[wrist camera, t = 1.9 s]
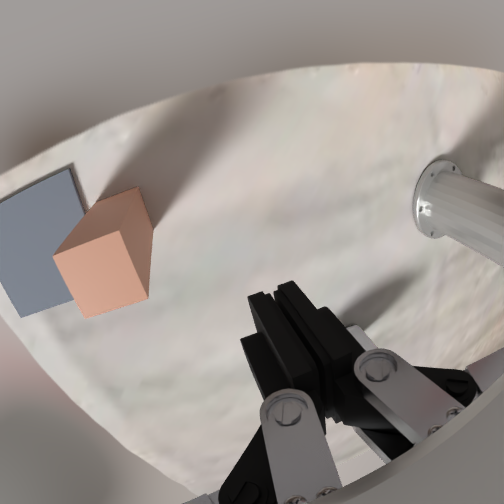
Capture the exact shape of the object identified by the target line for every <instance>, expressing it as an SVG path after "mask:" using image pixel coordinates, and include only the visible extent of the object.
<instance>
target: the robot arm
mask: <svg viewBox="0 0 504 504" xmlns="http://www.w3.org/2000/svg"><path fill="white" fill-rule="evenodd" d="M413 213H414V219H415V223H416V225H417V227H418V229H419V231H420V232H421V233H422V234H424V235H425V236H427V237H429V238H434V239H436V238H440V237H442V236H444V235H447V236H449V237H450V238H452V239H454V240H456V241H458V242H460V243H462V244H463V245H465V246H467V247H469V248H471V249H473V250H474V251H476V252H478V253H480V254H481V255H483V256H485V257H487V258H488V259H490V260H492V261H493V262H495V263H497V264H498V265H500V266H502V267H504V190H503V189H501V188H498V187H495V186H492V185H490V184H487V183H484V182H481V181H478V180H475V179H472V178H469V177H466V176H463V175H462V173H461V171H460V169H459V168H458V166H457V165H456V164H454V163H453V162H450V161H447V160H438V161H436V162H434V163H432V164H431V165H430V166H429V167H427V169H426V170H425V171H424V173H423V174H422V176H421V178H420V180H419V182H418V185H417V187H416V191H415V195H414V202H413ZM274 298H275V300H274V299H273V297H272V296H271V294H270V293H268V294H264V293H263V292H259V293H256V294H253V295H250V296H248V302H249V305H250V309H251V312H252V316H253V319H254V323H255V326H256V330H257V333H255V334H252V335H250V336H247V337H244V338H241V339H240V341H241V344H242V347H243V350H244V352H245V355H246V358H247V361H248V363H249V366H250V368H251V371H252V373H253V376H254V378H255V381H256V383H257V385H258V388H259V390H260V392H261V395H262V397H263V399H264V402H263V403H262V405H261V408H260V420H261V425H260V427H259V429H258V430H257V432H256V434H255V435H254V437H253V438H252V440H251V442H250V443H249V445H248V446H247V448H246V450H245V451H244V453H243V454H242V456H241V457H240V459H239V461H238V462H237V464H236V465H235V467H234V468H233V470H232V471H231V473H230V474H229V476H228V477H227V479H226V480H225V482H224V483H223V485H222V486H221V488H220V490H218V491H216V492H213V493H211V494H209V495H207V494H204V495H201V496H199V497H197V498H195V499H193V500H190V501H188V502H185V503H183V504H504V348H501V349H499V350H498V351H496V352H494V353H492V354H490V355H488V356H486V357H484V358H482V359H480V360H478V361H476V362H474V363H472V364H470V365H468V366H466V368H465V370H463V371H462V370H456V369H442V368H429V367H418V366H412V365H410V364H409V363H408V362H406V361H405V360H404V359H402V358H401V357H400V356H399V355H397V354H396V353H394V352H392V351H391V350H387V349H372V350H368V351H366V350H365V349H364V348H363V347H362V346H361V345H360V343H359V342H358V341H357V340H356V339H355V338H354V337H353V335H352V334H351V333H350V332H349V331H348V330H347V329H346V327H345V326H344V325H343V324H342V323H341V322H340V321H339V319H338V318H337V317H336V316H335V315H334V314H333V313H332V311H331V310H330V309H329V308H328V307H322V308H320V309H316V307H315V306H314V305H313V304H312V303H311V301H310V300H309V299H308V298H307V297H306V295H305V294H304V293H303V292H302V291H301V289H300V288H299V287H298V286H297V285H296V283H295V282H294V281H289V282H286V283H284V284H281V285H278V290H276V291H274ZM325 417H326V418H327V419H328V418H330V417H332V418H333V420H334V421H335V423H339V422H341V421H342V422H343V424H344V425H348V426H352V427H353V429H354V431H355V432H356V433H357V434H358V435H359V436H360V437H361V438H362V439H363V440H364V441H365V443H366V444H367V445H368V446H369V447H370V448H371V449H372V450H373V451H374V452H375V453H376V454H377V455H378V456H379V457H380V458H381V459H382V460H383V461H384V462H385V463H386V465H384V466H382V467H381V468H379V469H377V470H375V471H373V472H372V473H370V474H368V475H366V476H364V477H362V478H360V479H358V480H357V481H354V482H352V483H350V484H348V485H346V486H344V487H342V484H341V481H340V478H339V475H338V472H337V469H336V466H335V463H334V461H333V458H332V455H331V452H330V449H329V446H328V443H327V441H326V438H325V435H326V424H325Z"/></svg>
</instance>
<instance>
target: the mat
mask: <svg viewBox="0 0 504 504" xmlns="http://www.w3.org/2000/svg"><path fill="white" fill-rule="evenodd" d="M85 214H86V213H85V210H84V207H83V205H82V202H81V199H80V197H79V194H78V191H77V188H76V185H75V182H74V179H73V176H72V173H71V170H70V168H69V169H67V170H65V171H62V172H60V173H58V174H56V175H54V176H52V177H50V178H48V179H45V180H43V181H41V182H39V183H37V184H35V185H33V186H31V187H29V188H28V189H26V190H24V191H22V192H20V193H18V194H16V195H14V196H13V197H11V198H9V199H7V200H5V201H4V202H2V203H0V282H1V284H2V286H3V288H4V289H5V291H6V293H7V295H8V297H9V298H10V300H11V302H12V304H13V305H14V307H15V309H16V310H17V312H18V314H19V315H20V317H21V318H22V317H25V316H28V315H31V314H34V313H37V312H40V311H42V310H45V309H48V308H51V307H54V306H57V305H60V304H63V303H66V302H69V301H71V300H74V298H73V296H72V295H71V293H70V291H69V289H68V287H67V285H66V283H65V281H64V279H63V277H62V275H61V273H60V271H59V269H58V267H57V265H56V263H55V261H54V259H53V257H52V256H53V254H54V253H55V252H56V250H57V249H58V248H59V247H60V245H61V244H62V243H63V241H64V240H65V239H66V237H67V236H68V235H69V234H70V232H71V231H72V230H73V229H74V227H75V226H76V225H77V224H78V223H79V221H80V220H81V219H82V218H83V217H84V215H85Z"/></svg>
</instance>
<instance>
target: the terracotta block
mask: <svg viewBox="0 0 504 504" xmlns="http://www.w3.org/2000/svg"><path fill="white" fill-rule="evenodd" d="M152 240H153V227H152V224H151V221H150V219H149V216H148V213H147V210H146V207H145V204H144V201H143V198H142V195H141V192H140V189H139V186H138V187H135V188H133V189H130V190H127V191H124V192H122V193H119V194H116V195H114V196H111V197H108V198H106V199H103V200H101V201H98V202H96V203H95V204H94V205H93V206H92V207H91V208H90V210H89V211H88V212H87V213H86V214H85V215H84V217H83V218H82V219H81V220H80V221H79V223H78V224H77V225H76V226H75V227H74V229H73V230H72V231H71V232H70V234H69V235H68V236H67V237H66V239H65V240H64V241H63V243H62V244H61V245H60V247H59V248H58V249H57V250H56V252H55V253H54V254H53V256H52V257H53V259H54V261H55V263H56V265H57V267H58V269H59V271H60V273H61V275H62V277H63V279H64V281H65V283H66V285H67V287H68V289H69V291H70V293H71V295H72V296H73V298H74V300H75V302H76V304H77V305H78V307H79V309H80V311H81V313H82V314H83V316H84V318H85V319H86V318H90V317H93V316H96V315H99V314H102V313H105V312H109V311H112V310H115V309H118V308H121V307H124V306H127V305H130V304H134V303H137V302H140V301H143V300H146V299H148V296H149V279H150V264H151V252H152Z"/></svg>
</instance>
